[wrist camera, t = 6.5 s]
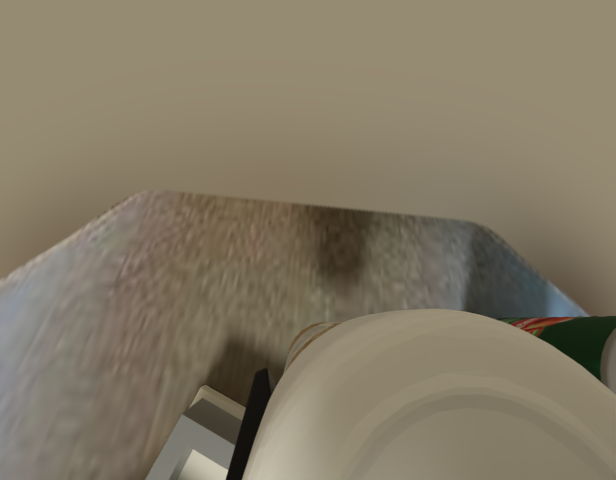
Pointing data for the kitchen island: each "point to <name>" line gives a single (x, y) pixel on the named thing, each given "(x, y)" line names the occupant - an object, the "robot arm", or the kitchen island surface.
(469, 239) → the kitchen island surface
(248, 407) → the robot arm
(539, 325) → the canned tomato
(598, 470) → the sprinkles bottle
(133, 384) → the kitchen island surface
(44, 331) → the kitchen island surface
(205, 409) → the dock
